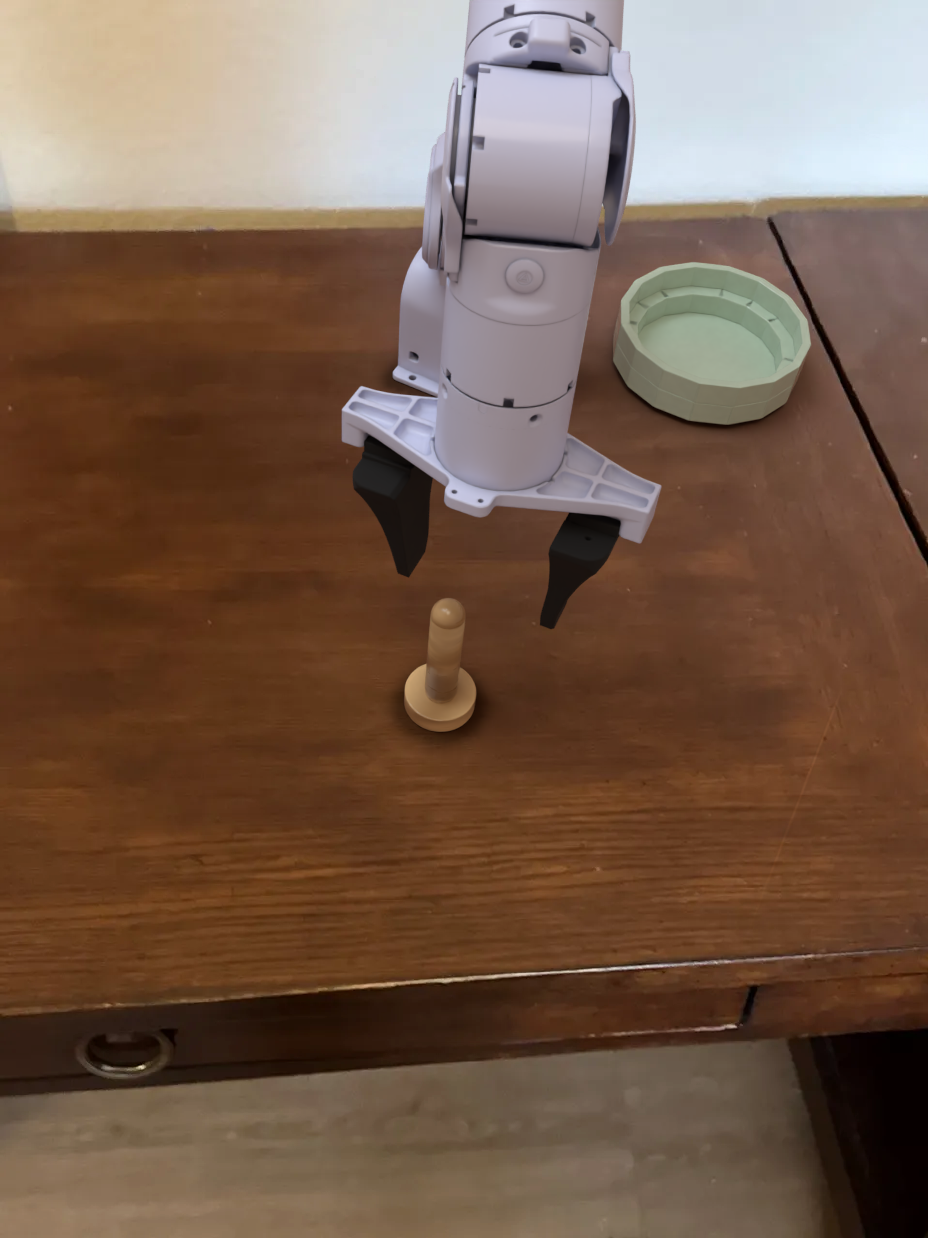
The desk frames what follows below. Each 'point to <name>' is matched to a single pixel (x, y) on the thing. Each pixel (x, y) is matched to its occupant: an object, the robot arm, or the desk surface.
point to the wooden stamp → (442, 674)
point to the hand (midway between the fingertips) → (481, 588)
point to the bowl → (710, 342)
